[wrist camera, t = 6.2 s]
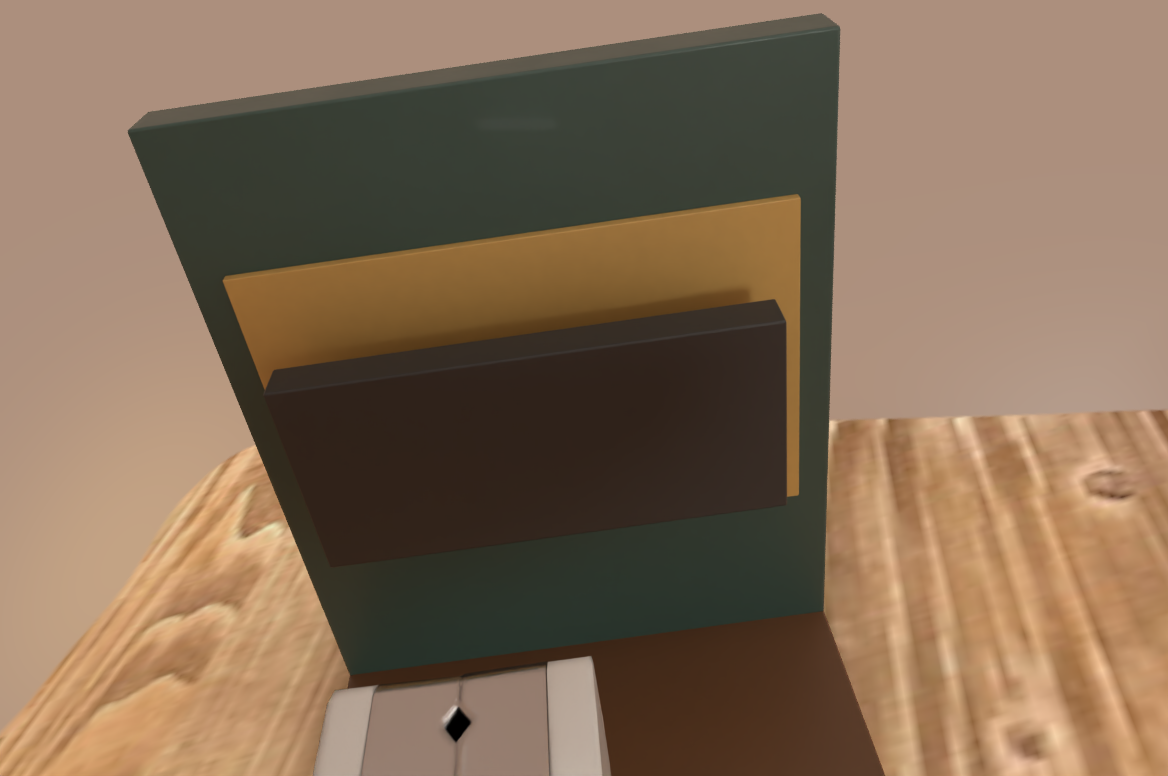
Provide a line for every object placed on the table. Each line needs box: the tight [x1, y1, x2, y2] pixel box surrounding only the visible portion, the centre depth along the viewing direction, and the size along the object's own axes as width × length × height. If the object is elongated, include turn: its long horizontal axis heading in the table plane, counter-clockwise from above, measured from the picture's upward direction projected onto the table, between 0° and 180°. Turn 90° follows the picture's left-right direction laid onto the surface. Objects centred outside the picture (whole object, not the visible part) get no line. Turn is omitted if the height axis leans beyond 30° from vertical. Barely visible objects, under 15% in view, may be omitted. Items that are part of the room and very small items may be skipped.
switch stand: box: [128, 14, 885, 776], centre depth 27 cm, size 12×17×21 cm
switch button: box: [263, 299, 787, 568], centre depth 25 cm, size 1×13×6 cm, turn 94°
